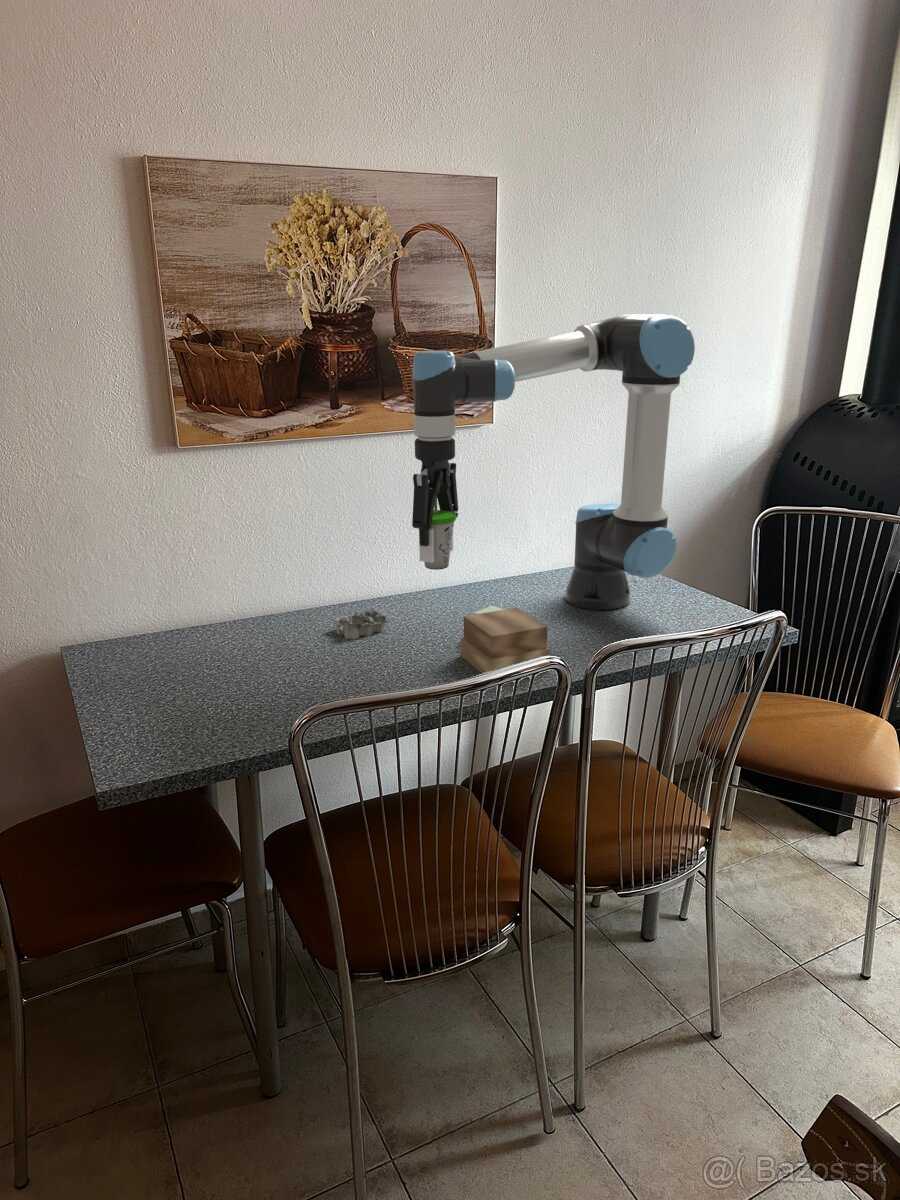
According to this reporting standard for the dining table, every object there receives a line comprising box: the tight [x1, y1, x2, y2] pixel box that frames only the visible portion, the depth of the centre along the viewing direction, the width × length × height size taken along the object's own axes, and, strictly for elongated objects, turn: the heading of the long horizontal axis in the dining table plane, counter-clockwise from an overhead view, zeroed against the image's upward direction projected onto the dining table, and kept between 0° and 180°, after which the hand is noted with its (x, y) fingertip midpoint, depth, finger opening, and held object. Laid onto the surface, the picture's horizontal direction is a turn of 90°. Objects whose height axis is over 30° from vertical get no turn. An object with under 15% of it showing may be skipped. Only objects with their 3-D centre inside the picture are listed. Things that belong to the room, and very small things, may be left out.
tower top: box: [463, 607, 548, 659], centre depth 168 cm, size 12×12×4 cm
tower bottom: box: [460, 636, 552, 674], centre depth 170 cm, size 13×13×4 cm
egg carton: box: [333, 607, 390, 640], centre depth 186 cm, size 11×8×4 cm
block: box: [472, 605, 505, 615], centre depth 181 cm, size 6×6×6 cm
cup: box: [423, 495, 457, 571], centre depth 165 cm, size 8×8×15 cm
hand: (436, 555), depth 167 cm, fingers closed on cup, 8 cm apart
